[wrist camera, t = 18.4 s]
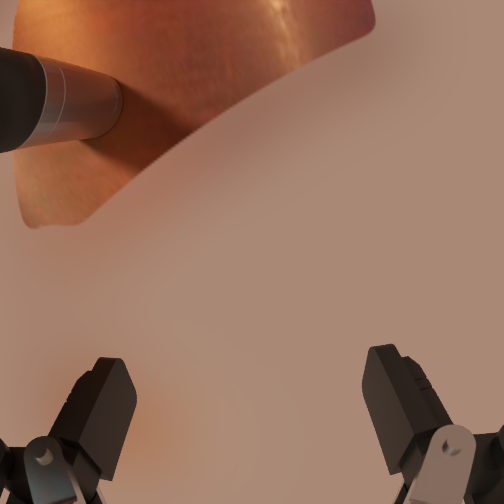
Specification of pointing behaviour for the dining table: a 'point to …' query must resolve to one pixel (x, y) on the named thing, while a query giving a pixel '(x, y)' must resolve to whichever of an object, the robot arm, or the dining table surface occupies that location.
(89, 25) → the dining table surface
